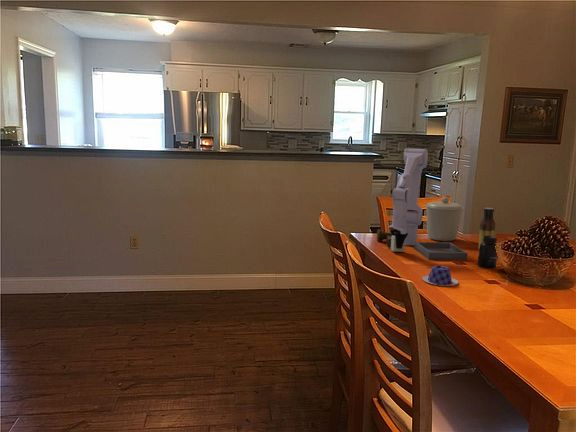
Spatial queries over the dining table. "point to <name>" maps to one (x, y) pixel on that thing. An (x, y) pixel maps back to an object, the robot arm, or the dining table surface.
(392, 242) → the beige block
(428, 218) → the canister
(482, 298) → the dining table surface
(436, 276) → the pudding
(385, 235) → the kendama
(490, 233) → the sauce bottle
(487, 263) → the supplement bottle
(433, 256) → the tray
